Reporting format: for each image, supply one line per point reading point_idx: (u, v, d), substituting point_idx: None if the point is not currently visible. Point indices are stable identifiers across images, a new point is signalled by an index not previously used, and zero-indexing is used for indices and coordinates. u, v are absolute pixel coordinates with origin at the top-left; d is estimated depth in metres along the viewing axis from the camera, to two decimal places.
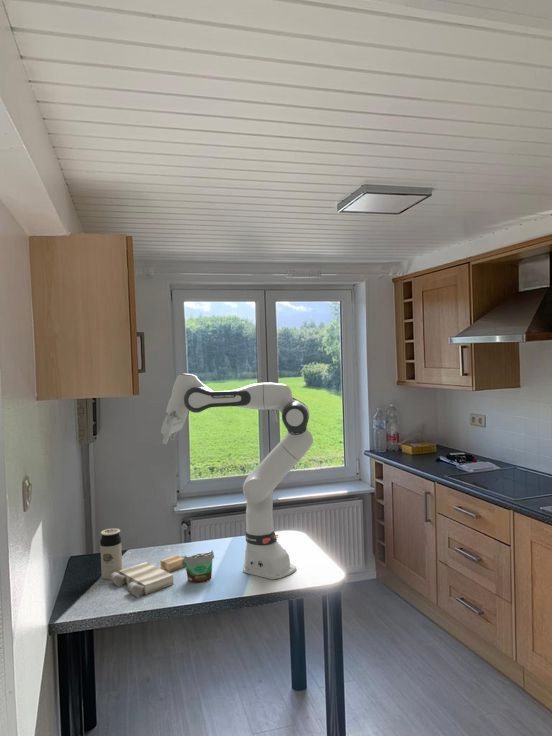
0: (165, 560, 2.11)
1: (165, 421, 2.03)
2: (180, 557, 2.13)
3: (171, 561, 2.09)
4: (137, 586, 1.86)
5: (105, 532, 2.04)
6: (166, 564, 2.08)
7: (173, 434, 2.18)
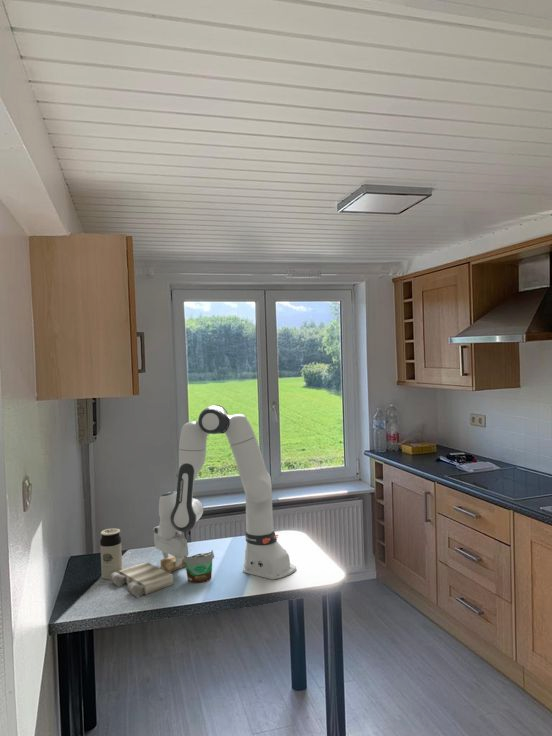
0: (165, 560, 2.11)
1: (182, 546, 2.04)
2: None
3: (171, 561, 2.09)
4: (137, 586, 1.86)
5: (105, 532, 2.04)
6: (166, 564, 2.08)
7: (166, 555, 2.14)
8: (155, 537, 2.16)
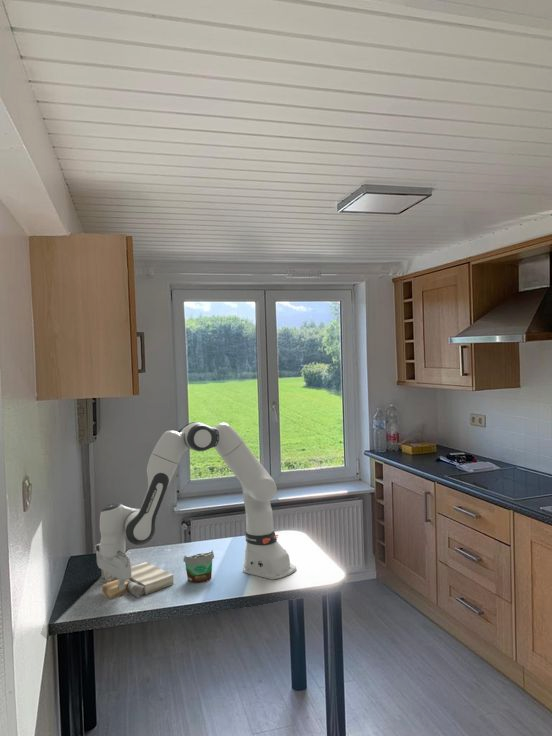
0: (107, 585, 1.89)
1: (123, 566, 1.82)
2: (125, 581, 1.91)
3: (113, 586, 1.87)
4: (137, 586, 1.86)
5: None
6: (107, 590, 1.86)
7: (107, 574, 1.93)
8: (97, 555, 1.94)
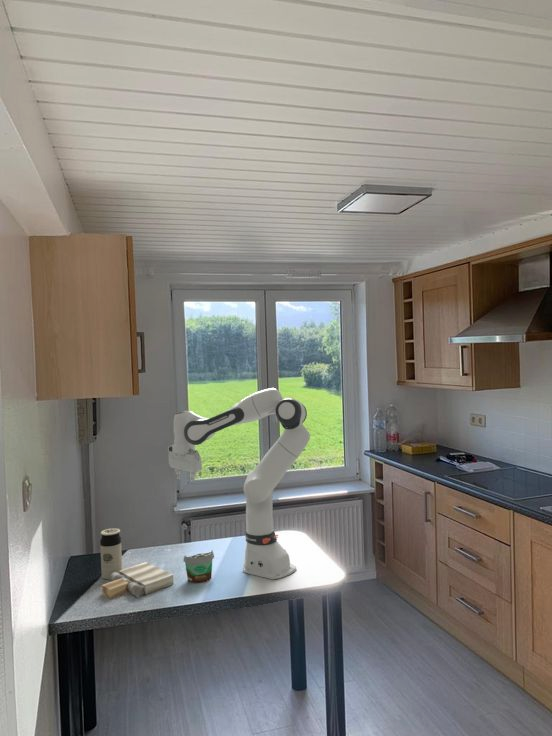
0: (107, 585, 1.89)
1: (196, 460, 2.13)
2: (124, 581, 1.91)
3: (113, 586, 1.87)
4: (137, 586, 1.86)
5: (105, 532, 2.04)
6: (107, 590, 1.86)
7: (178, 472, 2.24)
8: (169, 456, 2.25)
